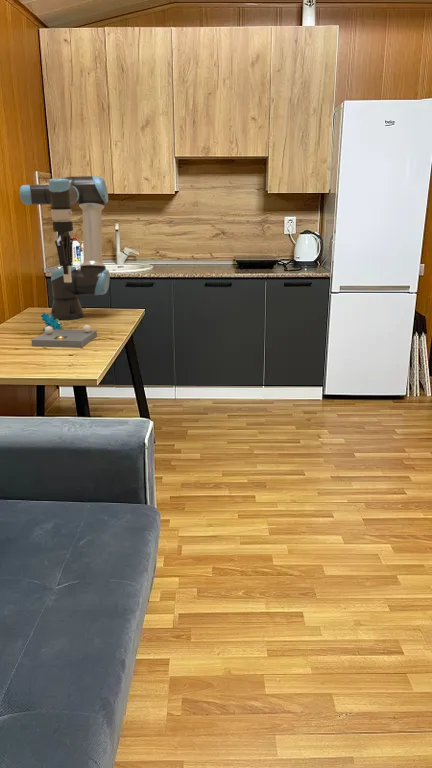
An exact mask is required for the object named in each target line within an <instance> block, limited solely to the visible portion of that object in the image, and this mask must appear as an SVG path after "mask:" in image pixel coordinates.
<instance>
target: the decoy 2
mask: <svg viewBox="0 0 432 768" xmlns="http://www.w3.org/2000/svg"><path fill="white" fill-rule="evenodd" d="M82 330H84V332H86V333H88V332H90V331H91V330H92V326H91V325H89V324H84V325H83V327H82Z"/></svg>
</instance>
